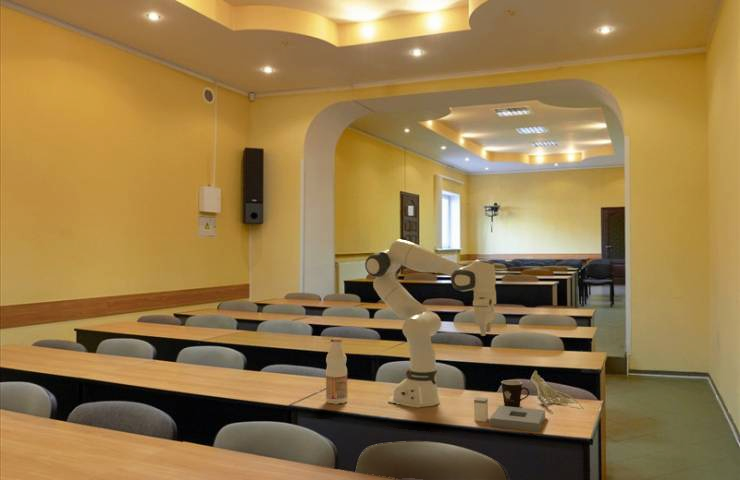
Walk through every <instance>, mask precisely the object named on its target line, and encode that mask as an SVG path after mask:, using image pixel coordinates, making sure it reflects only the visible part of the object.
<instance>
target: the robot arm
mask: <svg viewBox="0 0 740 480" xmlns="http://www.w3.org/2000/svg"><path fill="white" fill-rule="evenodd" d="M364 264H365V265H364V266H365V270H366V272H367V273H368V274H369V275H370V276H372V277H374V278H375V279H374V280H373V283H372V285H373V289H374V291H375V292H376V293H377V295H378V296H379V298H380V299H381V300H382V302H383V304H385V305H386V306H387V307H388V309H390V310H391V311H392V313H393V314H394V315H395V316H396V317H399V318H401V319H403V320H404V322H403V324H402V330H401V331H402V334H403V335H404V337H405V338H406V340H407V344H408V349H409V350H408V351H409V360H410V361H409V363H410V364H409V366H410V368H409V369H408V370H406V371H405V374H404V375H405V376H406V378H404V379H403V380H402V381H401V382H399V383H398V384H397V385H395V387H394V390H393V395H391V396H389V398H388V403H389V402H390V403H389V404H393V403H396V404H395V405H399V404H401V405H400V406H407V407H410V408H411V407H412V408H422V407H423V408H424V407H432V406H435V405H439V404H440V403H441V402H440V401H441V400H440V397H439V394H438V386H437V381H438V374H437V373H438V371H437V369H436V366H437V365H436V351H435V350H434V348H433V343H432V340H431V338H432V336H434V335H436V334H437V333H439V330H440V329H441V327H442V321H441V318H440V317H439V315H438V314H437V313H436V312H434V311H431V310H430V309H429V308H427V307H426V306H425V305H424V304H423V303H421V302H419V301H418V300H417V299H415V298H414V297H413V295H411V294H410V292H409V291H408V290H407V288H405V287H404V286H403V285H402V283H400V282H399V281H398V280H397V278H396V276H398V275H399V274H400V272H401V270H402V268H403V267H406V268H408V269H410V270H413V271H415V272H419V273H420V272H421V273H430V272H431V273H440V274H444V275H446V276H448V277H450V282H451V285H452V287H453V288H454V289H455V290H456V291H460V292H467V291H468V292H469V291H473V300H472V306H473V309H474V320H475V325H477V326H479V331H480V336H482V337H484V336H486V335H487V333H491V330H492V329H491V327H492V321H493V320H495V305H496V304H497V290H496V281H497V279H496V270H495V268H496V267H495V264H494V263H493V262H492V261H490V260H487V259H475V260H474V261H473V262H472V263H471V262H470V263H469V264H468V265H463V264H461V263H457V262H455V261H452V260H449V259H447V258H444V257H442V256H441V255H439V254H436V253H435V252H433V251H431V250H429V249H428V248H426V247H424V246H421V245H420V244H417V243H414V242H412V241H410V240H409V241H408V240H404V239H395V240H394V241H393V242H392V243H391V245H390V247H389V249H383V250H380V251H378V252H375V253H372V254H370V255H369V256H368V257H367V258H366V260H365V263H364Z"/></svg>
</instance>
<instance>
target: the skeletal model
mask: <svg viewBox="0 0 740 480" xmlns="http://www.w3.org/2000/svg"><path fill="white" fill-rule="evenodd" d="M530 381H531V382H532V383H533V384H534V385H535V387H536V389H537V390H536V391H537V396H536V398H537V399H538V401H539V402H541V404H542V405H543V406H544V407H546V408H547V409H548V410H549V411H550V412H551V414H553V413H554V412H553V411H552V410H551V409H550V407H551V405H550V404H552V405H554V404H557V405H558V404H564V405H568V404H570V405H571V404H572V405H573V404H574V405H575V404H576V405H579V406H580V407H581V409H584V407H583V406H582V405H581V403H579V402H578V401H577V400H576V399H575V398H573V397H572V396H571V395H569V394H566V393H564V392H561V391H559V390H556V389H553V388H551V387H550V386H549V385H548V384H547V383H546V381H545V380H544V378H542V377H541V375H539V374H538V371H537V370H534V371H533V373H532V375H531V378H530ZM563 395H564V396H566V397H568V398H566V397H564V396H563ZM557 396H558V397H559V399H558V398H557ZM571 399H572V400H571Z"/></svg>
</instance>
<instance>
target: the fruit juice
mask: <svg viewBox="0 0 740 480" xmlns="http://www.w3.org/2000/svg"><path fill="white" fill-rule="evenodd" d="M342 341H343V339H342V338H340V337H333V338H330V348H329V349H328V353H327V355H326V358H325V362H326V370H325V392H326V394H325V396H326V397H325V398H326V402H329V403H335V404H334V405H339V404H338V403H343V404H345V403H344V402H346V403H347V402H348V368H347V365H346V364H347V355H346V353H345V352H344V349H343V347H342ZM329 403H328V404H329Z"/></svg>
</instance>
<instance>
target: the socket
mask: <svg viewBox="0 0 740 480" xmlns="http://www.w3.org/2000/svg"><path fill="white" fill-rule="evenodd" d="M545 419H546V409H535V408H526V407H508V406H504V405H498V407H497V408H496V409H495V411H494V412H493V413H492V415H491V416H490V417H489V426H490V427H495V428H497V427H498V428H504V429H514V430H520V431H521V430H523V431H529V432H538V433H539V432H540V430H541V428H542V426H543V424H544V422H545Z"/></svg>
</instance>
